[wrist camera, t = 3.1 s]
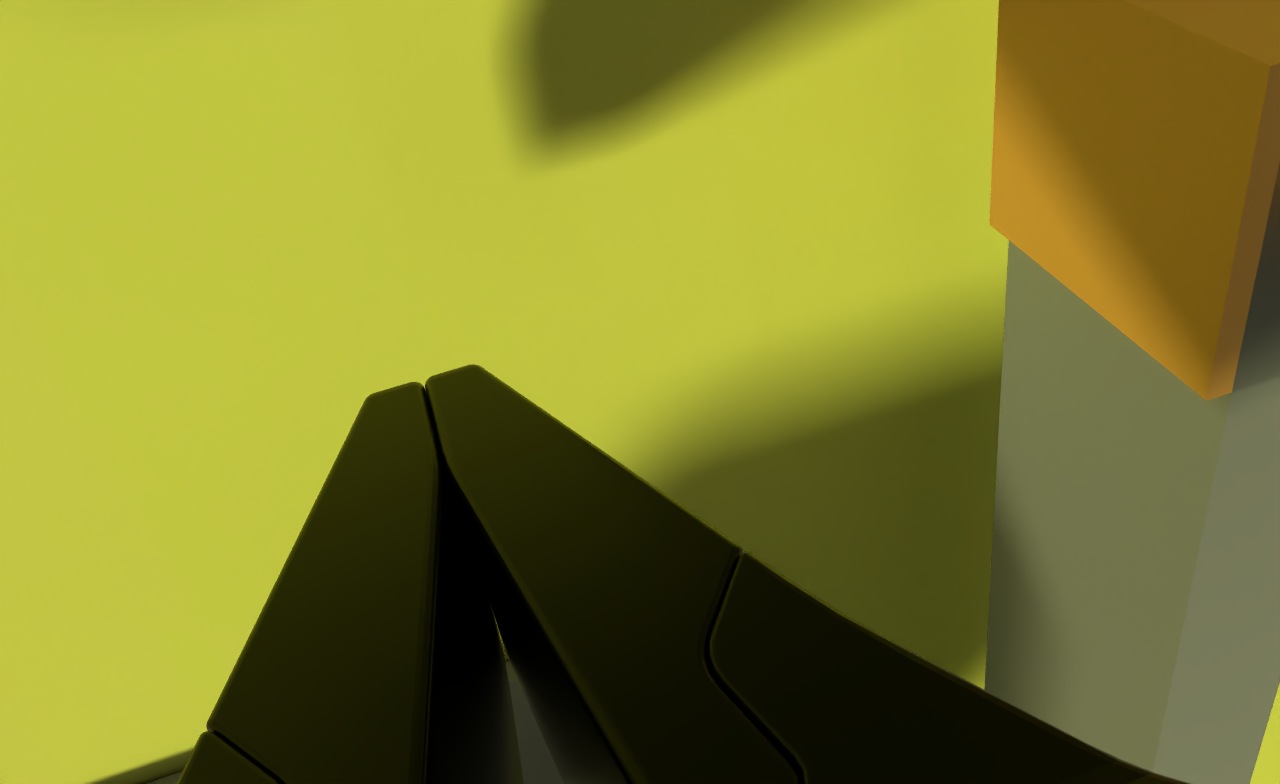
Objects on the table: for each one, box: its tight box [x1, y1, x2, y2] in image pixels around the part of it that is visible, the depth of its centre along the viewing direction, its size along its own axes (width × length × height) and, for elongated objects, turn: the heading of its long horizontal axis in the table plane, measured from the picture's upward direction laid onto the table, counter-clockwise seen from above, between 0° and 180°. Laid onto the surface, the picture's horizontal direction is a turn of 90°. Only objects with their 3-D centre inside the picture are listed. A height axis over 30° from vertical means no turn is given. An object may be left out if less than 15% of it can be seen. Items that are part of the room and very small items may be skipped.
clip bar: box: [985, 0, 1280, 784], centre depth 12 cm, size 16×3×4 cm, turn 8°
